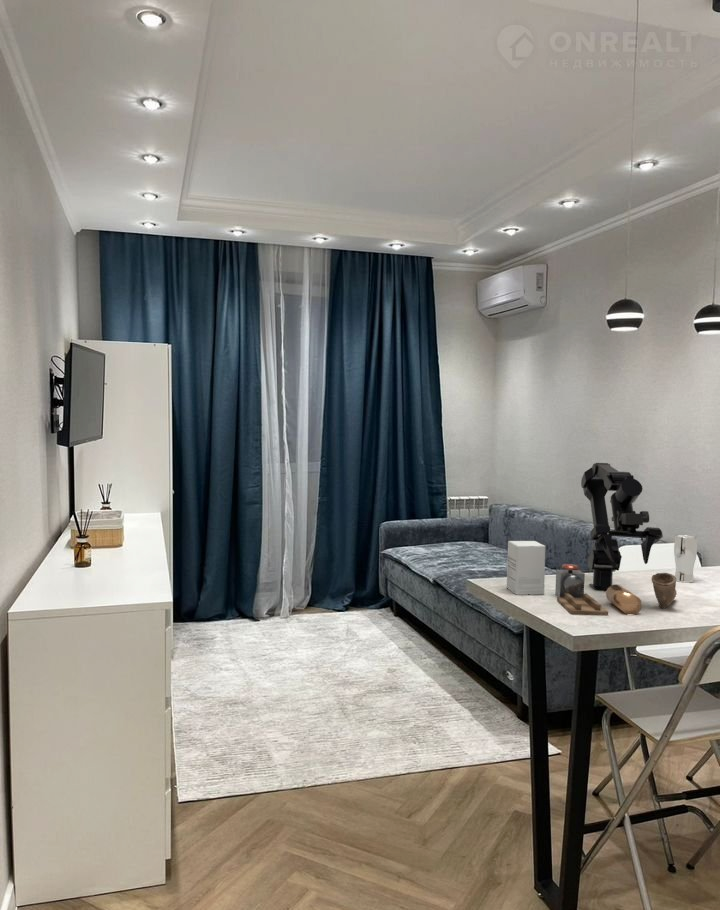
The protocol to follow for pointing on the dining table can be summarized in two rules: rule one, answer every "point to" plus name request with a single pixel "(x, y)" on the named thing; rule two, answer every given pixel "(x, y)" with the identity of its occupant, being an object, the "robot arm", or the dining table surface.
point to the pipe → (664, 588)
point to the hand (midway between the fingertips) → (629, 562)
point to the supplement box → (526, 567)
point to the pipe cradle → (582, 605)
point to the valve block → (569, 581)
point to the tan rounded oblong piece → (623, 599)
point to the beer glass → (685, 557)
